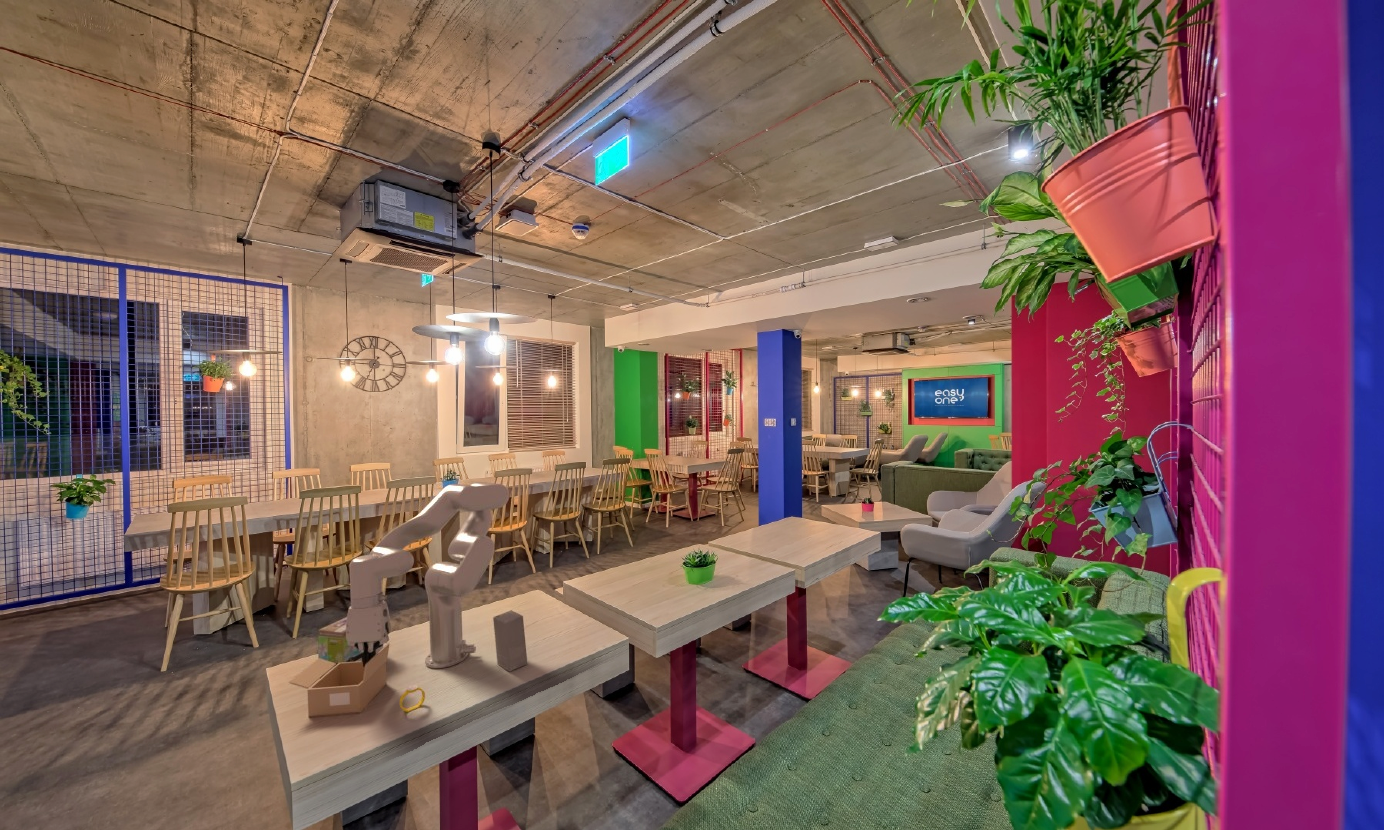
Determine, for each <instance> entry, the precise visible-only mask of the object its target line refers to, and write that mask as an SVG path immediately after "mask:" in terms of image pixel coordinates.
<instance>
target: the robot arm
mask: <svg viewBox="0 0 1384 830" xmlns="http://www.w3.org/2000/svg"><path fill="white" fill-rule="evenodd" d="M509 499H510V491H509V489H508V488H507V486H505V485H504V484H501V483H495V482H494V483H491V482H474V483H471V484H470V485H469V484H457V483H451V484H448V485H446V486H444V487H443V488H442V489H441V490H440V491H439V492H438V494H436V496H434V497H433V498H432V500H430V501H429V503H428V504H427V505H425V506H424V508H423V509H421V511H419V513H418V514H417V515H416V516H414V517H412V518H410V519H409V520H407V521H405V522H404V523H401V524H400V525H398V526H397V527H396V528H395V527H394V528H393V529H392V530H391V531H389V532H388V533H387V534H386V535H384V536H383V537H382V538H381V540H379V542H377V544H376V545H375V546H374V547H373V548H372V549H371V550H370V552H369V554H367V555H361V556H358V557H355V558H353V559H351V561H350V562H349V584H350V588H349V590H350V592H349V593H350V606H349V607H348V610H347V616H346V617H347V621H346V639H347V641H348V642H347V645H349V646H355V647H356V648H357V649H359V652H360V653H362V663H363V667H365V664H366V663H368V662H369V661H370V660H371V659H372V658H373V657H374V656H375V655H376V648H377V647H378V646H379V645H381V644H383V645H384V644H385V645H386V644H388V643H389V641H390V636H389V634H390V633H391V632H392V629H391V626H392V625H391V617H390V611H389V607H388V604H387V602H386V600H388V595H387V594H384V591H383V580H384V579H390V578H396V577H400V576H402V575H403V576H404V575H405V574H407V573H409V571H410V570H411V569H412V568H413V566H414V562H415V559H414V556H413V554H412V553H411V552H409V551H408V550H404V549H405V548H406V547H408V546H409V545H410V544H412V543H414V542H417V541H418V540H423V539H426V538H428V537H429V538H430V537H431V536H434V535H436V534H438V533H440V532H441V530H443V528H444V527H445V526H446V525H447V524H448V523H449V522H450V521H451V519H452V518H453V517H454V516H455V515H456V514H457V513H458V512H467V516H466V518H465V520H464V522H463V524H462V525H461V527H460V528H459V529H458V531H457V533H456V534H455V536H454V537H453V539H452V540H451V542H450V544H449V546H448V548H447V553H448V556H449V557H450V558H451V559H452V560H454V561H458V562H460V563H455V562H450V561H439V562H436V563H434V564H432V565H431V566H429V568H428V569H427V571H426V572H425V577H424V587H425V591H426V594H427V599H428V612H429V613H428V616H429V617H428V618H429V619H428V620H429V645H430V647H429V648H430V649H429V650H430V653H429V654H428V655H427V656H426V658H425V660H424V661H425V662H424V663H425V665H426V666H427V667H428V668H432V669H441V668H449V667H452V666H455V665H457V664H459V663H461V662H463V661H464V660H465V659H467V657H468V656H469V654H475V653H476V650H477V647H476V646H475V644H474V643H469V644H467V641H466V639H463V616H462V615H463V614H462V610H463V608H462V605H463V604H462V597H466V596H468V595H469V594H470V593H472V592H473V591H474V590H475V588H476V587H477V585H478V584H479V582H480V580H481V578H482V577H483V575H484V573H485V572H486V570H487V569H488V567H489V565H490V563H491V562H492V560H493V558H494V554H495V550H496V549H495V542H494V540H493V539H492V537H491V538H490V536H487V534H488V532H489V530H490V527H491V526H492V511H491V510H497V509H501V508H503V507H504V506H505V505H507V503H508V501H509ZM368 642H369V643H368Z"/></svg>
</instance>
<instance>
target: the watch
mask: <svg viewBox="0 0 1384 830" xmlns="http://www.w3.org/2000/svg"><path fill="white" fill-rule="evenodd" d="M417 691H421V698H420V700H419V702H418V703H417V704H416V705H413V706H410V707H408V708H405V707H404V706H403V701H404V699H405V698H406V696H407V695H408V694H411V693H415V692H417ZM425 699H426V692H425V691H424V689H423V688H421V687H420V686H418V685H417V684H412V685H409V686H408V687H406V690H405V691H404V692H403V693H402V695H401V696H400V698H399V707H400V708H401V709H402V711H404V712H406V713H409V712H412V711H413V710H416V709H419V708H420V707H421V706H422V705H423V704H424V702H425Z"/></svg>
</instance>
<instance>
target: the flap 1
mask: <svg viewBox="0 0 1384 830" xmlns="http://www.w3.org/2000/svg"><path fill="white" fill-rule="evenodd" d="M335 665H336V663H333V662H330V661H327V660H323V659H320V658H319V659H318V658H317V659H316V660H315V661H314V662H312V663H311V664H310V665H308V666H307V667H306V668H304V670H302V671H301V672H300V673H299V674H297V675H296V676H294V678H292V679H291V680H289V681H288V684H290V685H294V686H297V687H301V688H304V689H307V690H308V689H309V688H310V687H311V686H312V685H314V684H315V683H316V682H317V681H318V680H319V679H321V678H322V676H323V675H324V674H325V673H327V672H328V671H329V670H330V669H331V668H333V667H334V666H335Z"/></svg>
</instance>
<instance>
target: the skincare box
mask: <svg viewBox="0 0 1384 830" xmlns="http://www.w3.org/2000/svg"><path fill="white" fill-rule="evenodd" d="M492 621H493V630H494V631H493V632H494V641H495V650H496V651H495V652H496V664H497V665H499V666H500V667H501V668H503V669H504V670H506V671H508V672H512V671H514V670H517V669H518V668H520V667H523V666H527V665H528V656H527V655H528V654H527V643H526V636H525V635H526V633H525V625H524V624H525V623H524V615H521V614H520V613H518V612H516V611H513V610H509V611H506V612H503V613H500V614H497V615H495V616H493V617H492Z"/></svg>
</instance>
